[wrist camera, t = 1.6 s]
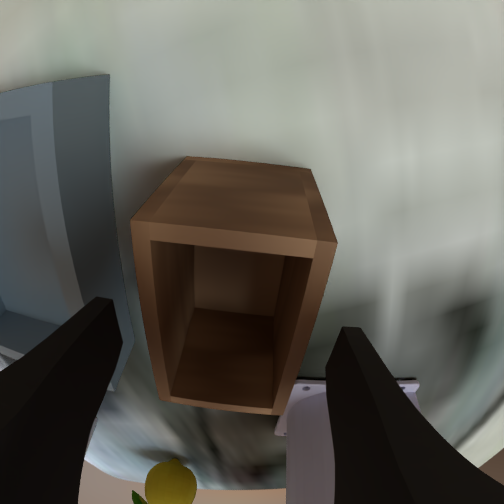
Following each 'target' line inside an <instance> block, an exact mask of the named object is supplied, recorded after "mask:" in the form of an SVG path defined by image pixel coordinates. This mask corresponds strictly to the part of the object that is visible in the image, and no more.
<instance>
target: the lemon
mask: <svg viewBox="0 0 504 504" xmlns="http://www.w3.org/2000/svg"><path fill="white" fill-rule="evenodd" d="M196 490H197V482H196V478H195V476H194V474H193V472H192V471H191V470H190V469H188V468H187V467H185V466H183V465H182V464H181V463H180V462H179V460H178V459H175V458H174V459H172V460H170V461H169V462H162V463H159V464H157V465H155V466H154V467H153V468H152V469H151V470H150V471H149V473H148V475H147V478H146V482H145V496H146V499H147V502H148V504H192V502H193V500H194V498H195V495H196ZM132 500H133V502H134V504H147V502H146V501H145V500H144V499H143V498H142V497H141V496H140V495H139V494H137V493H136V492H135V491H133V490H132Z"/></svg>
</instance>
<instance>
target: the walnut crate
mask: <svg viewBox="0 0 504 504" xmlns="http://www.w3.org/2000/svg"><path fill="white" fill-rule="evenodd" d="M130 225H131V236H132V245H133V254H134V263H135V270H136V278H137V285H138V292H139V299H140V305H141V311H142V317H143V323H144V328H145V334H146V339H147V344H148V350H149V354H150V359H151V364H152V369H153V373H154V378H155V382H156V386H157V391H158V395H159V399H160V400H162V401H168V402H173V403H179V404H185V405H191V406H197V407H204V408H211V409H218V410H227V411H235V412H245V413H256V414H268V415H283V414H284V411H285V408H286V406H287V403H288V400H289V398H290V395H291V392H292V389H293V387H294V384H295V381H296V378H297V375H298V372H299V370H300V367H301V364H302V361H303V358H304V355H305V352H306V349H307V346H308V343H309V340H310V337H311V333H312V330H313V327H314V324H315V321H316V318H317V314H318V311H319V308H320V304H321V301H322V298H323V294H324V291H325V287H326V284H327V281H328V277H329V273H330V270H331V266H332V263H333V259H334V255H335V251H336V248H337V244H338V242H337V239H336V236H335V234H334V231H333V228H332V225H331V222H330V219H329V217H328V214H327V211H326V208H325V206H324V203H323V200H322V198H321V195H320V192H319V190H318V187H317V184H316V182H315V179H314V177H313V174H312V171H311V169H305V168H298V167H290V166H283V165H275V164H266V163H257V162H248V161H238V160H228V159H216V158H204V157H190V156H187V157H186V158H185V159H184V160H183V161H182V162H181V163H180V164H179V165H178V166H177V167H176V168H175V170H174V171H173V172H172V173H171V174H170V175H169V176H168V177H167V178H166V179H165V180H164V182H163V183H162V184H161V185H160V186H159V187H158V188H157V189H156V190H155V192H154V193H153V194H152V195H151V196H150V197H149V198H148V200H147V201H146V202H145V203H144V204H143V205H142V207H141V208H140V209H139V210H138V211H137V212H136V214H135V215H134V216H133V217H132V218H131V220H130Z"/></svg>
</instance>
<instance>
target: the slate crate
mask: <svg viewBox="0 0 504 504" xmlns="http://www.w3.org/2000/svg"><path fill="white" fill-rule="evenodd" d="M109 81H110V75H99V76H90V77H82V78H74V79H67V80H61V81H54V82H49V83H43V84H38V85H33V86H28V87H23V88H19V89H15V90H10V91H6V92H2V93H0V353H1V354H4V355H6V356H8V357H11V358H13V359H16V360H18V359H20V358H21V357H22V356H24V355H25V354H27V353H28V352H29V351H30V350H32V349H33V348H34V347H35V346H37V345H38V344H39V343H41V342H42V341H43V340H44V339H46V338H47V337H48V336H49V335H51V334H52V333H53V332H54V331H55V330H57V329H58V328H59V327H60V326H61V325H63V324H64V323H65V322H66V321H67V320H69V319H70V318H71V317H72V316H73V315H74V314H76V313H77V312H78V311H79V310H80V309H81V308H83V307H84V306H85V305H86V304H87V303H89V302H90V301H91V300H92V299H94V298H95V297H96V296H98V297H103V298H109V299H113V302H114V307H115V311H116V315H117V319H118V324H119V328H120V331H121V335H122V339H123V345H122V349H121V352H120V356H119V359H118V363H117V366H116V369H115V372H114V374H113V376H112V379H111V381H110V384H109V386H108V388H107V390H110V391H114V392H115V389H116V387H117V384H118V382H119V379H120V377H121V374H122V372H123V369H124V367H125V364H126V362H127V359H128V357H129V354H130V352H131V349H132V347H133V345H134V342H135V338H134V333H133V329H132V324H131V319H130V314H129V309H128V304H127V298H126V293H125V287H124V281H123V275H122V269H121V262H120V255H119V248H118V240H117V232H116V224H115V215H114V204H113V193H112V180H111V164H110V140H109Z"/></svg>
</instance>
